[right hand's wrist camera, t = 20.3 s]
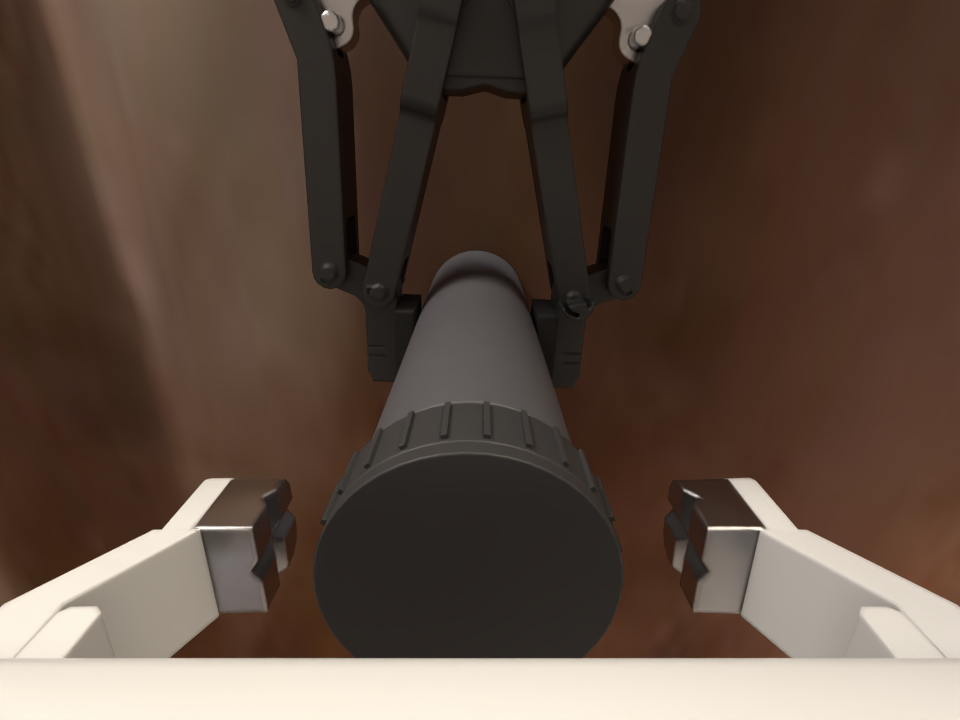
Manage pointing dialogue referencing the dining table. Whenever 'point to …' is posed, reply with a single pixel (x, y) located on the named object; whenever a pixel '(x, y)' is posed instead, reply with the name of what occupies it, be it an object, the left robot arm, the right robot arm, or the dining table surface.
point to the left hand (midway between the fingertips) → (471, 447)
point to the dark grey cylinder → (474, 346)
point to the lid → (468, 541)
